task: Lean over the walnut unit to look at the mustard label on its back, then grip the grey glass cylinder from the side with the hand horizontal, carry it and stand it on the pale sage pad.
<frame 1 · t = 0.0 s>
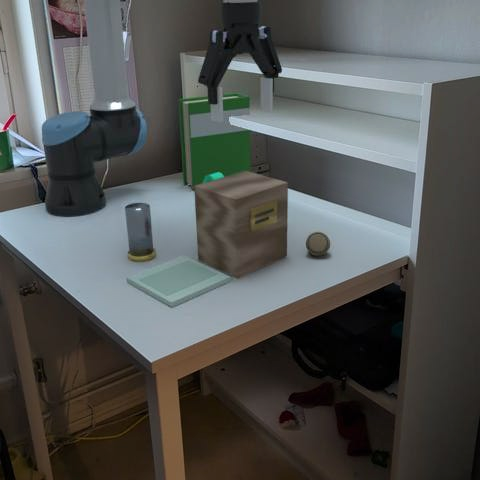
hand: (242, 115, 121), 28 cm above the table, tool pointing down, fingers open, 13 cm apart
pad: (178, 281, 116), on the table
door knob: (317, 255, 126), on the table
grey glass cylinder: (142, 256, 127), on the table
unit: (242, 258, 125), on the table
camera mount: (222, 212, 151), on the table
hardback book: (217, 183, 172), on the table
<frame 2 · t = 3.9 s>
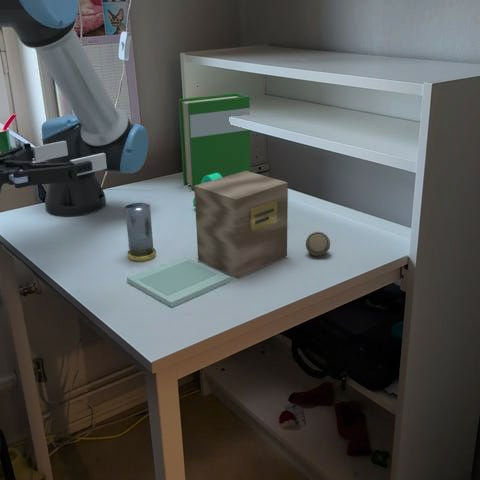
hand: (85, 154, 111), 24 cm above the table, tool horizontal, fingers open, 13 cm apart
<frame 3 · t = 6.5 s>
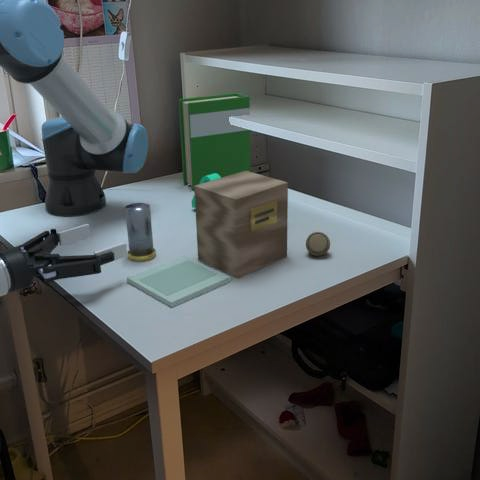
hand: (106, 239, 119), 6 cm above the table, tool horizontal, fingers open, 13 cm apart
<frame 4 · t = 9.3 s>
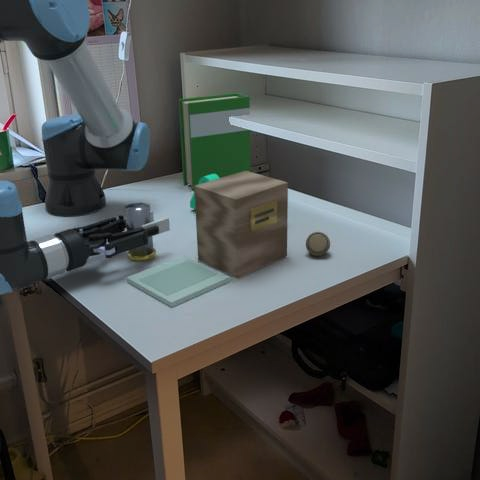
hand: (159, 220, 128), 7 cm above the table, tool horizontal, fingers closed on grey glass cylinder, 5 cm apart
grey glass cylinder: (142, 255, 127), on the table, touching gripper
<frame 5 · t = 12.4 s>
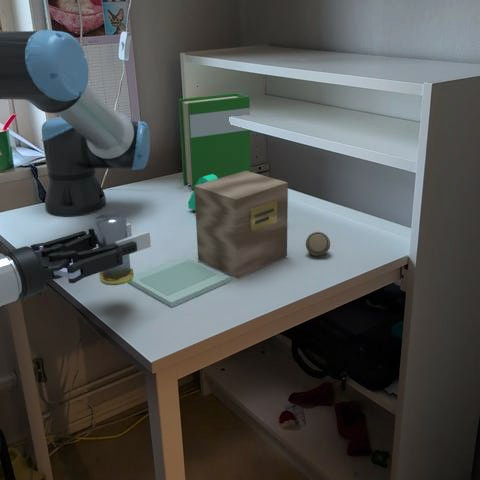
hand: (139, 234, 106), 12 cm above the table, tool horizontal, fingers closed on grey glass cylinder, 5 cm apart
grey glass cylinder: (116, 277, 105), point 6 cm above the table, touching gripper
when the fingers open (9 cm above the table, at t = 15.5 s): grey glass cylinder drops 2 cm, resting on pad.
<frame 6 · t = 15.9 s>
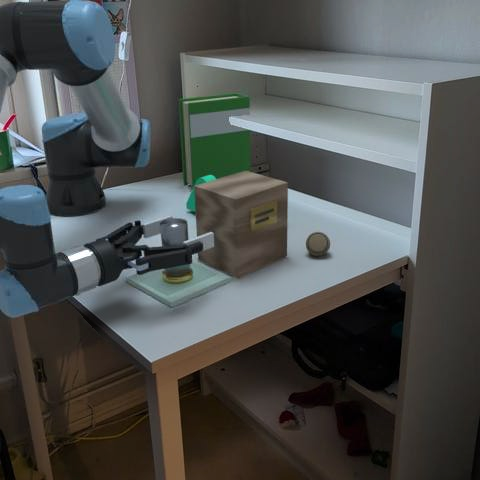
hand: (191, 230, 114), 9 cm above the table, tool horizontal, fingers open, 11 cm apart
grey glass cylinder: (177, 276, 115), point 1 cm above the table, touching pad
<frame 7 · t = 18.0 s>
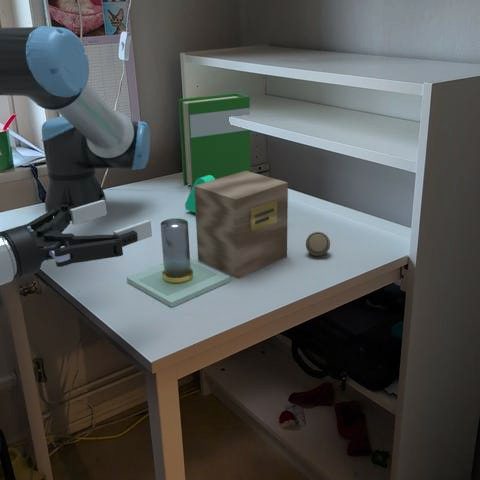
hand: (126, 217, 103), 16 cm above the table, tool horizontal, fingers open, 13 cm apart
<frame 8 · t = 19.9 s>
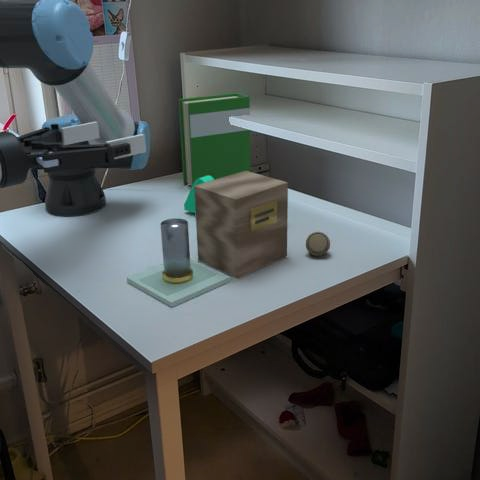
hand: (119, 136, 98), 30 cm above the table, tool horizontal, fingers open, 13 cm apart
at the end: grey glass cylinder inside the target area on the pad (0.1 cm from its centre), point 1.1 cm above the pad's base; grey glass cylinder tilted 0°; the gripper is holding nothing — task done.
